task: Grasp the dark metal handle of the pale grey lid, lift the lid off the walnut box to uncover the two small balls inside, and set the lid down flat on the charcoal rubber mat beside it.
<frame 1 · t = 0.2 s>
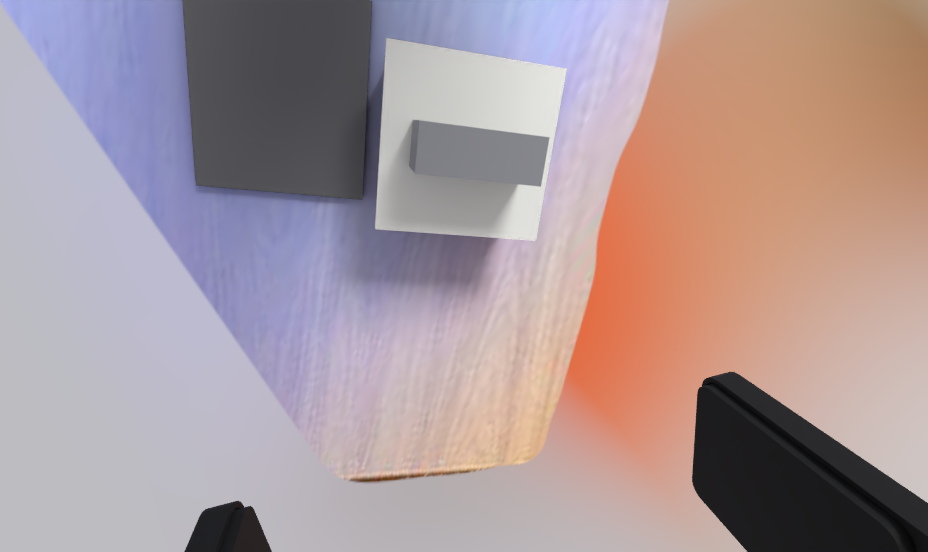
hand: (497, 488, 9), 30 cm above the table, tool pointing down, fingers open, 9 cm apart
mat: (282, 95, 32), on the table
lid: (466, 149, 31), point 5 cm above the table, touching box
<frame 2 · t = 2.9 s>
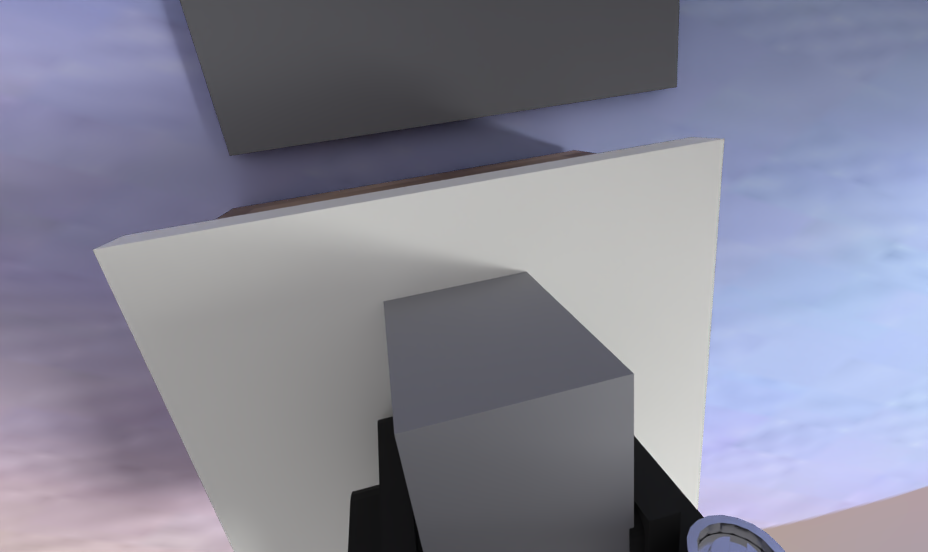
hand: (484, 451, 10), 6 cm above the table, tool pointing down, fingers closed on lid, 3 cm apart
box: (440, 329, 16), on the table
lid: (471, 414, 11), point 5 cm above the table, touching gripper
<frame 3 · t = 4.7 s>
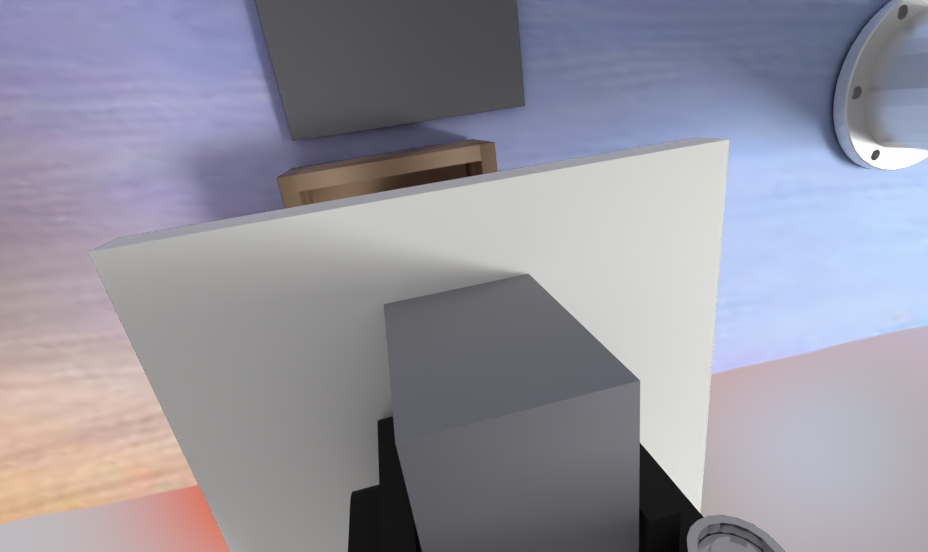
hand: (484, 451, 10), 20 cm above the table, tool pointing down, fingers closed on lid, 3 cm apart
mat: (393, 8, 24), on the table
box: (402, 239, 28), on the table
lid: (472, 417, 11), point 19 cm above the table, touching gripper
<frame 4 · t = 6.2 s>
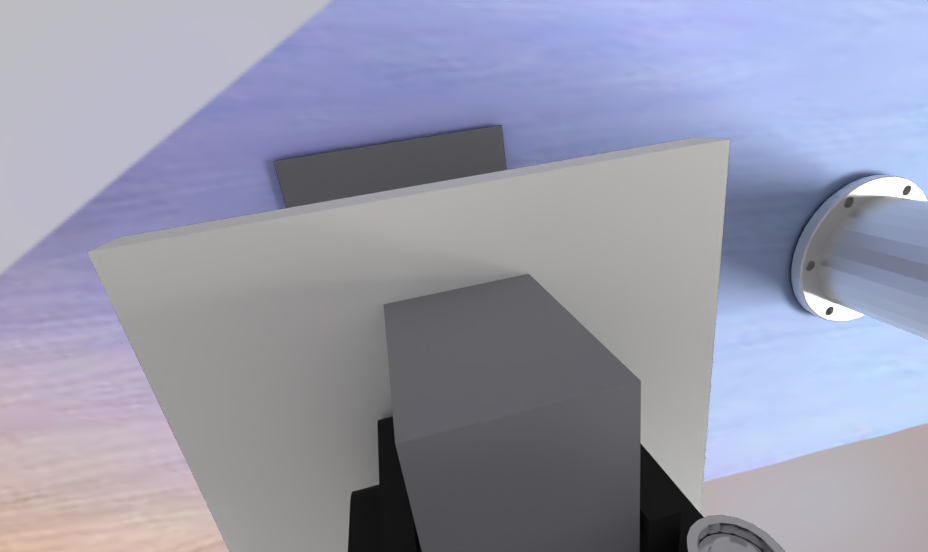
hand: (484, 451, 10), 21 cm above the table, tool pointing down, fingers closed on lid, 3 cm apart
mat: (409, 235, 29), on the table
lid: (472, 417, 11), point 19 cm above the table, touching gripper
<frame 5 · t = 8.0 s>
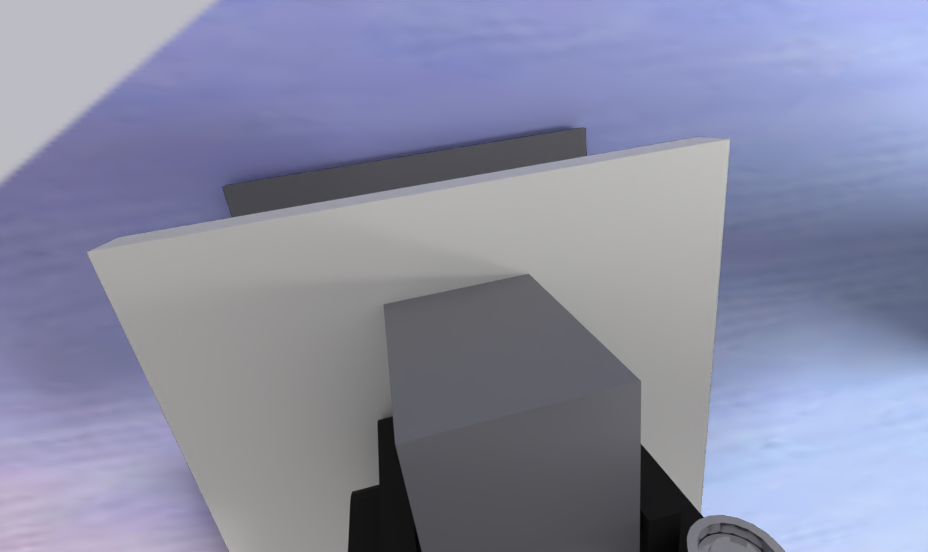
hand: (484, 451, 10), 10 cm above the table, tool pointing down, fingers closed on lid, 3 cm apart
mat: (437, 294, 19), on the table
lid: (472, 418, 11), point 9 cm above the table, touching gripper
when the fingers open (3 cm above the table, at t = 9.6 s): lid drops 2 cm, resting on mat.
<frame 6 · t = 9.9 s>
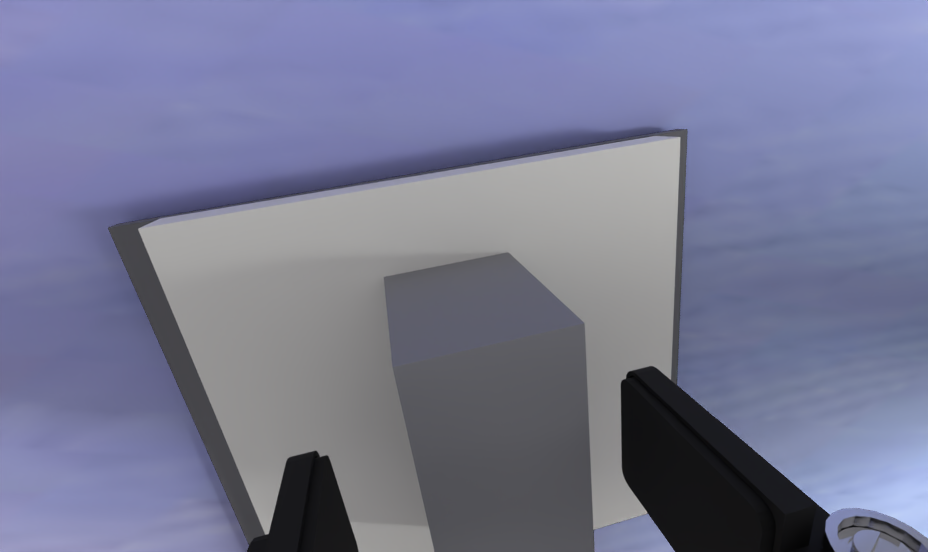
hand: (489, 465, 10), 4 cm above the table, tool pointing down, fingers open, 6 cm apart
mat: (458, 376, 13), on the table
lid: (462, 383, 13), resting on mat
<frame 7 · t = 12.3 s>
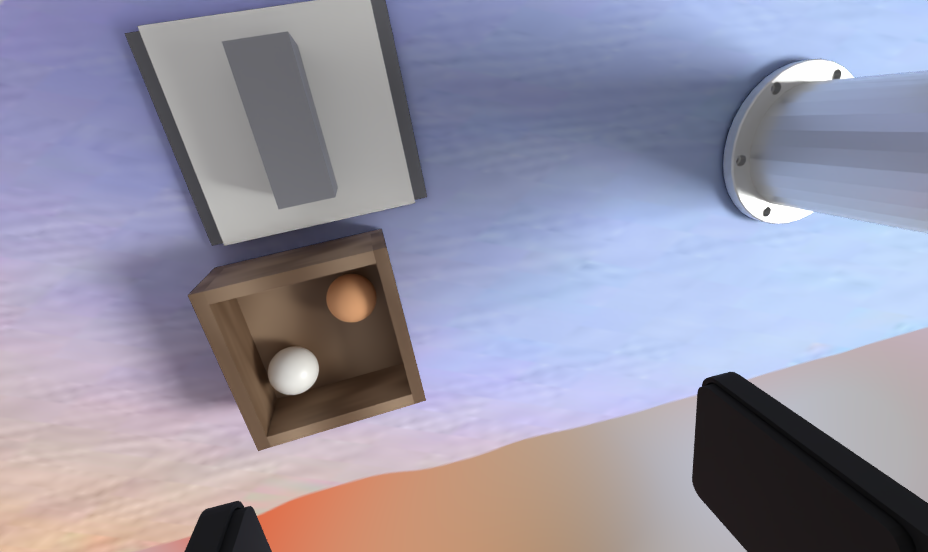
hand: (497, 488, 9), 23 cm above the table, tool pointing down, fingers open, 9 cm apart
mat: (295, 125, 27), on the table
orange ball: (351, 298, 29), point 2 cm above the table, touching box
off-white ball: (293, 370, 29), point 2 cm above the table, touching box
box: (324, 319, 31), on the table
lid: (295, 125, 26), resting on mat
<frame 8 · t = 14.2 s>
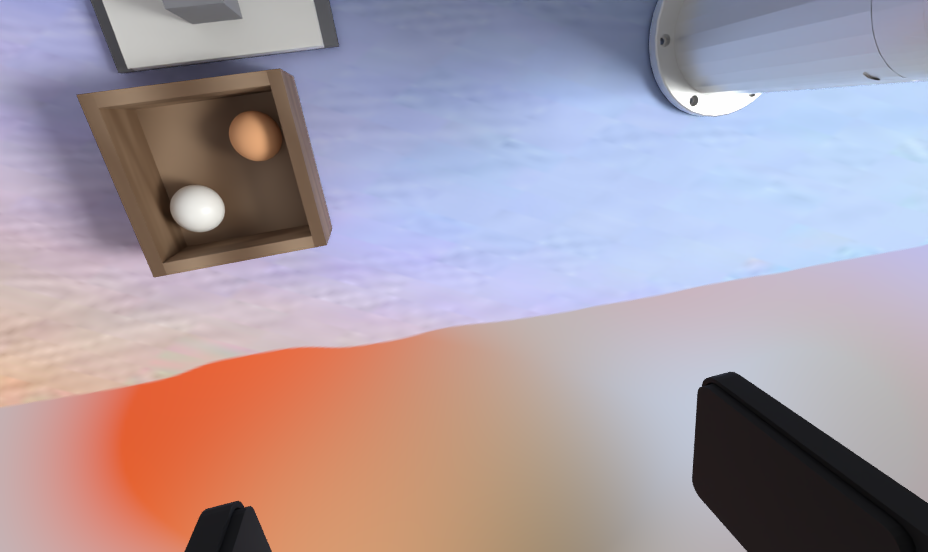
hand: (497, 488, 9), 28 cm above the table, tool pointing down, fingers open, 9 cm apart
orange ball: (256, 136, 29), point 2 cm above the table, touching box
off-white ball: (198, 208, 30), point 2 cm above the table, touching box
box: (236, 169, 32), on the table
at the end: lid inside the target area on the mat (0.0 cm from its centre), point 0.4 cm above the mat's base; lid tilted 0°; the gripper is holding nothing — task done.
